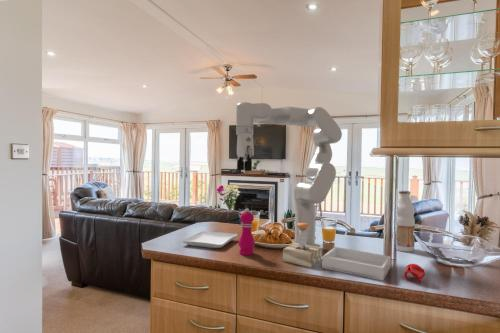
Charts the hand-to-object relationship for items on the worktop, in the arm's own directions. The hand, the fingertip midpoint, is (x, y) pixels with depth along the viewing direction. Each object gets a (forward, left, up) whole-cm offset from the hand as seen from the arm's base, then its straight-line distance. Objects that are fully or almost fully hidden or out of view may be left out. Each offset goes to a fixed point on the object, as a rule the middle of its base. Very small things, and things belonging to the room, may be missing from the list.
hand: (244, 170), depth 133 cm
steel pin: (-8, +25, -37) cm, 45 cm away
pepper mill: (-2, +1, -37) cm, 37 cm away
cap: (-11, +66, -37) cm, 76 cm away
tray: (-12, +46, -37) cm, 60 cm away
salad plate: (-6, -23, -38) cm, 44 cm away
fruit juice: (-52, +58, -37) cm, 86 cm away
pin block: (-8, +25, -37) cm, 45 cm away
